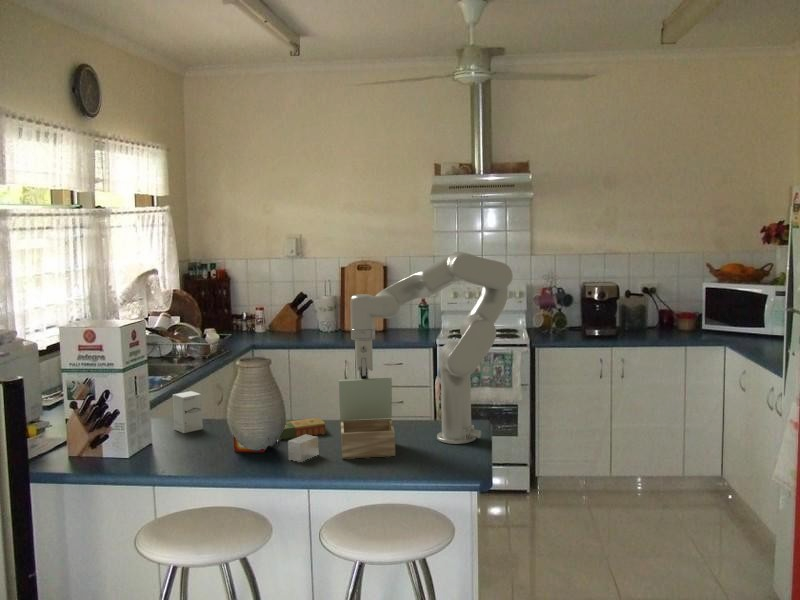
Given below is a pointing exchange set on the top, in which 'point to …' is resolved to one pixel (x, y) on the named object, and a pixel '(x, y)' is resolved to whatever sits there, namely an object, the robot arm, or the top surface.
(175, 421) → the supplement box
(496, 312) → the robot arm
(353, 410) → the lid
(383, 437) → the box
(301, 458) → the white rectangular block
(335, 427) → the top surface
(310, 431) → the carton
